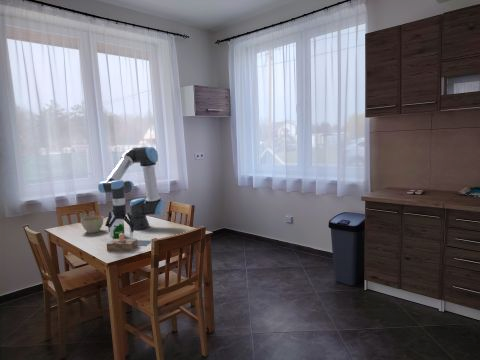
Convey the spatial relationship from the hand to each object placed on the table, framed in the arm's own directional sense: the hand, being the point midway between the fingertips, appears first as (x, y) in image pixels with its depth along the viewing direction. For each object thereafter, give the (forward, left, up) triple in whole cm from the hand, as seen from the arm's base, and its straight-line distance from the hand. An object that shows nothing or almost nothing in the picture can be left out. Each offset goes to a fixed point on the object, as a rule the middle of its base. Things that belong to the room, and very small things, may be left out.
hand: (121, 236), depth 215 cm
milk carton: (-25, -17, -8) cm, 31 cm away
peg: (0, 0, -8) cm, 8 cm away
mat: (-11, +8, -8) cm, 16 cm away
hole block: (0, 0, -8) cm, 8 cm away
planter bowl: (-38, -45, -8) cm, 59 cm away
